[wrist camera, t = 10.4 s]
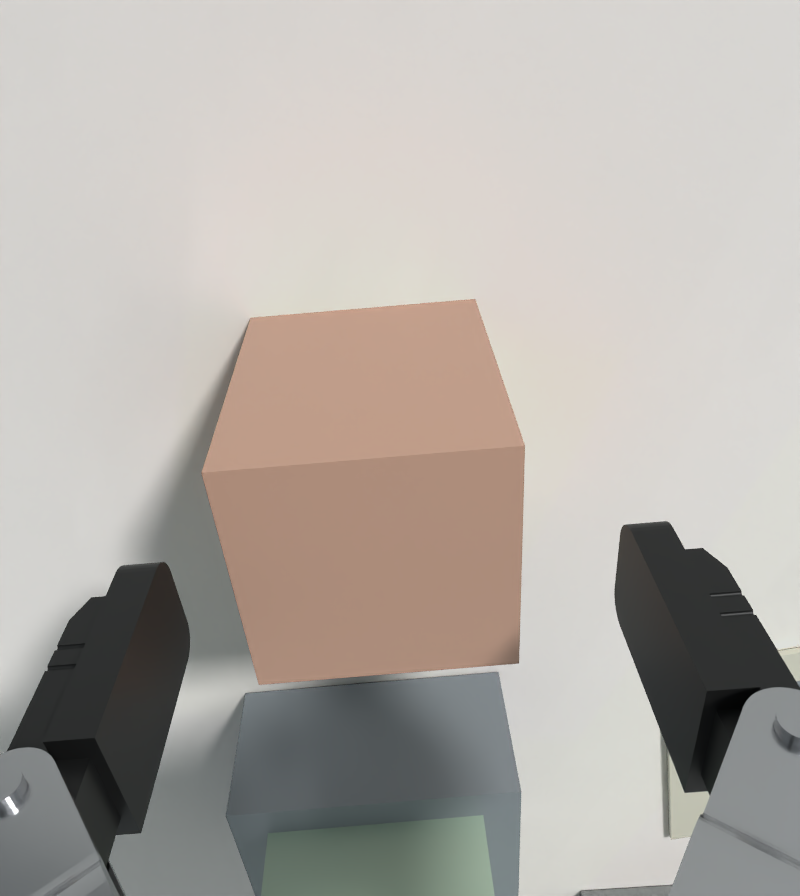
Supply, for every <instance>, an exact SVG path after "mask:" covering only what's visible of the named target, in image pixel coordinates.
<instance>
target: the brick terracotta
mask: <svg viewBox="0 0 800 896" xmlns="http://www.w3.org/2000/svg"><path fill="white" fill-rule="evenodd" d="M524 460H525V445H524V442H523V439H522V436H521V433H520V430H519V427H518V424H517V421H516V418H515V415H514V412H513V409H512V406H511V403H510V400H509V397H508V395H507V392H506V389H505V386H504V383H503V380H502V377H501V374H500V371H499V368H498V365H497V362H496V359H495V356H494V353H493V350H492V347H491V344H490V341H489V338H488V336H487V333H486V330H485V327H484V324H483V321H482V318H481V315H480V312H479V309H478V306H477V303H476V300H475V299H470V300H458V301H446V302H434V303H422V304H410V305H398V306H386V307H374V308H362V309H350V310H338V311H326V312H314V313H302V314H290V315H278V316H266V317H254V318H250V321H249V324H248V327H247V331H246V334H245V337H244V340H243V343H242V346H241V350H240V353H239V356H238V359H237V362H236V365H235V368H234V372H233V375H232V378H231V381H230V384H229V387H228V391H227V394H226V397H225V400H224V403H223V406H222V409H221V413H220V416H219V419H218V422H217V425H216V428H215V432H214V435H213V438H212V441H211V444H210V447H209V450H208V454H207V457H206V460H205V463H204V466H203V469H202V477H203V480H204V484H205V488H206V491H207V495H208V499H209V502H210V506H211V510H212V514H213V517H214V521H215V525H216V528H217V532H218V536H219V539H220V543H221V547H222V550H223V554H224V558H225V561H226V565H227V569H228V573H229V576H230V580H231V584H232V587H233V591H234V595H235V598H236V602H237V606H238V609H239V613H240V617H241V621H242V624H243V628H244V632H245V635H246V639H247V643H248V646H249V650H250V654H251V657H252V661H253V665H254V668H255V672H256V676H257V680H258V683H259V685H262V684H275V683H287V682H299V681H311V680H323V679H335V678H347V677H359V676H372V675H384V674H396V673H408V672H420V671H432V670H444V669H456V668H469V667H481V666H493V665H505V664H517V663H519V643H520V607H521V570H522V533H523V496H524Z"/></svg>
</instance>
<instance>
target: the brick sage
mask: <svg viewBox="0 0 800 896" xmlns="http://www.w3.org/2000/svg"><path fill="white" fill-rule="evenodd" d="M261 896H495V895H494V887H493V880H492V873H491V866H490V859H489V852H488V845H487V838H486V831H485V824H484V817H483V815H479V816H467V817H455V818H443V819H431V820H419V821H407V822H395V823H383V824H371V825H360V826H348V827H336V828H324V829H312V830H300V831H288V832H276V833H268V837H267V846H266V855H265V864H264V873H263V882H262V891H261Z"/></svg>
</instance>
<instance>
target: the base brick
mask: <svg viewBox="0 0 800 896" xmlns="http://www.w3.org/2000/svg"><path fill="white" fill-rule="evenodd" d="M479 815H483V817H484V824H485V831H486V838H487V845H488V852H489V859H490V866H491V873H492V880H493V887H494V895H495V896H518V888H519V851H520V815H521V788H520V783H519V778H518V773H517V767H516V762H515V757H514V752H513V746H512V741H511V736H510V731H509V725H508V720H507V715H506V710H505V704H504V699H503V694H502V689H501V683H500V678H499V673H498V672H493V673H482V674H470V675H458V676H446V677H434V678H422V679H410V680H398V681H387V682H375V683H363V684H351V685H339V686H327V687H315V688H303V689H291V690H280V691H268V692H256V693H246V695H245V701H244V707H243V713H242V719H241V726H240V732H239V738H238V744H237V750H236V757H235V763H234V769H233V775H232V781H231V787H230V794H229V800H228V806H227V812H226V818H227V820H228V823H229V826H230V828H231V831H232V834H233V836H234V839H235V842H236V845H237V847H238V850H239V853H240V855H241V858H242V861H243V863H244V866H245V869H246V871H247V874H248V877H249V879H250V882H251V885H252V887H253V890H254V893H255V896H261V891H262V882H263V873H264V864H265V855H266V846H267V837H268V833H276V832H288V831H300V830H312V829H324V828H336V827H348V826H360V825H371V824H383V823H395V822H407V821H419V820H431V819H443V818H455V817H467V816H479Z"/></svg>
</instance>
